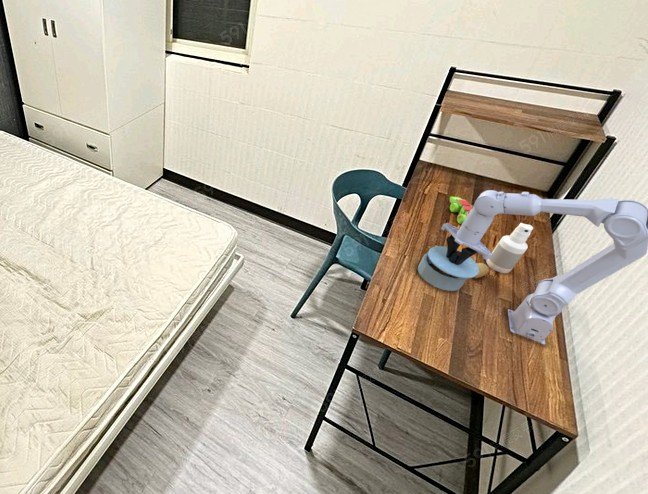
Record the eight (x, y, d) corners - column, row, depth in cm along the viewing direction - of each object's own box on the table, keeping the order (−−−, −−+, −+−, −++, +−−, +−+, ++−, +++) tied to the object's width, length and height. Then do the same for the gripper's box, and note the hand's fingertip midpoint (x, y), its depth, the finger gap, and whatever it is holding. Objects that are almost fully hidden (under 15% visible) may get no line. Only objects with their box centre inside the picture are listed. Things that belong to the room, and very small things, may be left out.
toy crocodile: (443, 201, 169) (450, 189, 166) (461, 203, 168) (468, 192, 165) (463, 232, 153) (471, 219, 150) (483, 235, 152) (491, 222, 149)
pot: (461, 297, 127) (469, 286, 124) (415, 280, 132) (422, 269, 129) (461, 272, 136) (468, 261, 133) (418, 257, 141) (425, 246, 138)
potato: (472, 281, 133) (478, 272, 131) (460, 272, 136) (466, 264, 134) (487, 276, 135) (493, 267, 133) (476, 267, 138) (481, 259, 136)
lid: (478, 286, 120) (485, 276, 118) (426, 267, 126) (432, 257, 124) (476, 259, 130) (483, 248, 127) (428, 242, 136) (433, 232, 133)
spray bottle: (487, 269, 137) (515, 228, 127) (484, 256, 142) (511, 216, 132) (512, 276, 135) (542, 235, 125) (508, 263, 140) (537, 223, 130)
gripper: (442, 215, 124) (424, 247, 132) (489, 246, 113) (466, 279, 121) (458, 210, 126) (440, 242, 134) (506, 240, 115) (483, 274, 123)
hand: (453, 260), depth 127 cm, fingers closed on lid, 2 cm apart
